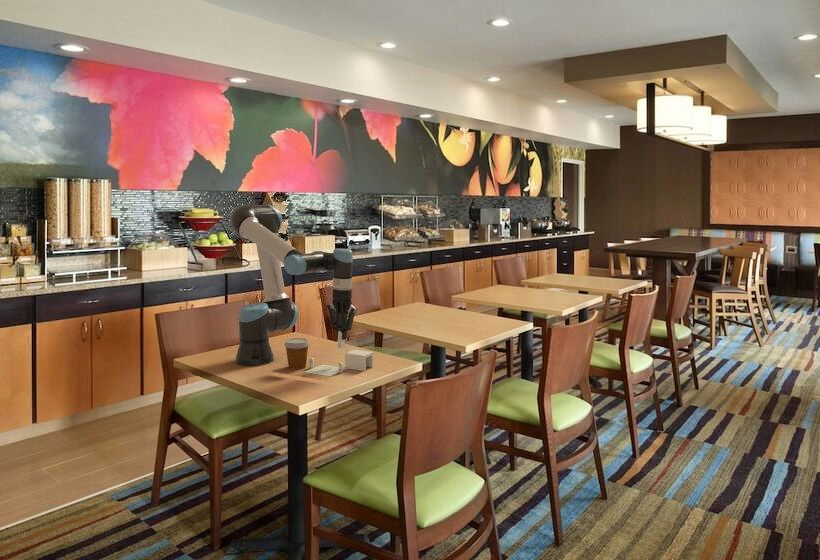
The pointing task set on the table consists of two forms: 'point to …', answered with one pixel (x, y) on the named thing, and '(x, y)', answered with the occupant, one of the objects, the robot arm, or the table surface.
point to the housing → (358, 360)
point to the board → (325, 369)
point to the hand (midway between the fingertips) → (341, 347)
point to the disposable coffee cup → (297, 352)
